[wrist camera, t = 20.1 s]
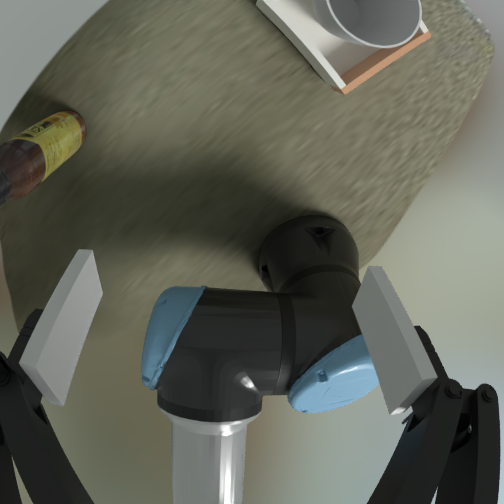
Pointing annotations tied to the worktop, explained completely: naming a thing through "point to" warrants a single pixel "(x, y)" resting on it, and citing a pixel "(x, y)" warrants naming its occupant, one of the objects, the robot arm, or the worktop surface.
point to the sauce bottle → (38, 153)
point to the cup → (370, 20)
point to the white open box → (332, 45)
